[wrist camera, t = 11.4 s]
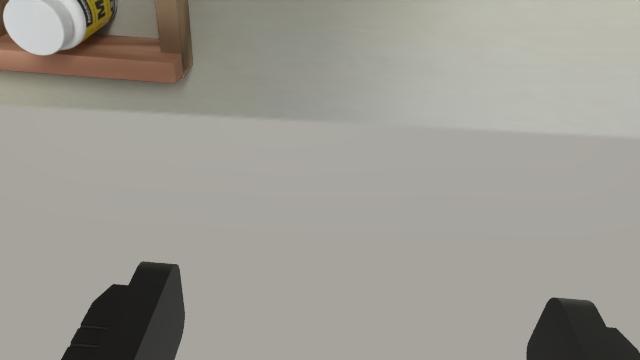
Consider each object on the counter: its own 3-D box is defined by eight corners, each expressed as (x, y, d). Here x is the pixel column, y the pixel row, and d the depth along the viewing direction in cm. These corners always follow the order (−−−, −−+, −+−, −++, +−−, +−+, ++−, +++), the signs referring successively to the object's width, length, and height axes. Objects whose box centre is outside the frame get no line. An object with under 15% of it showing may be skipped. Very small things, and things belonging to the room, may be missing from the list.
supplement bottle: (130, 8, 40) (85, 42, 33) (88, 35, 42) (36, 74, 35) (88, -49, 38) (30, -25, 31) (45, -17, 40) (-20, 12, 33)
